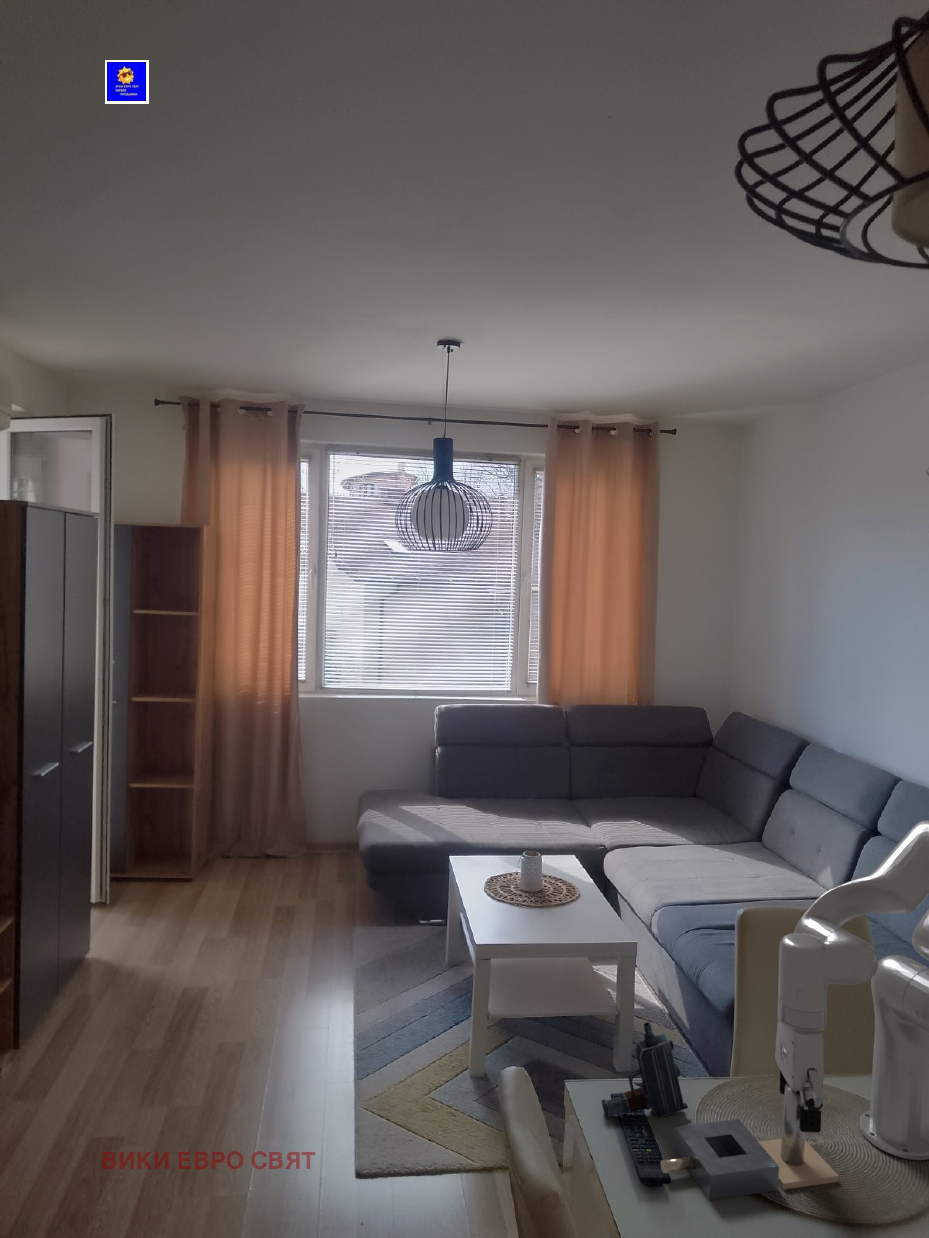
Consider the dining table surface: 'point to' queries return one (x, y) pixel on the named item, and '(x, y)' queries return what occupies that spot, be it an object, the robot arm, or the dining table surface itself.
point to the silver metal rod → (792, 1129)
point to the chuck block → (723, 1159)
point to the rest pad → (800, 1167)
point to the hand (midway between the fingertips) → (799, 1111)
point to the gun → (651, 1080)
